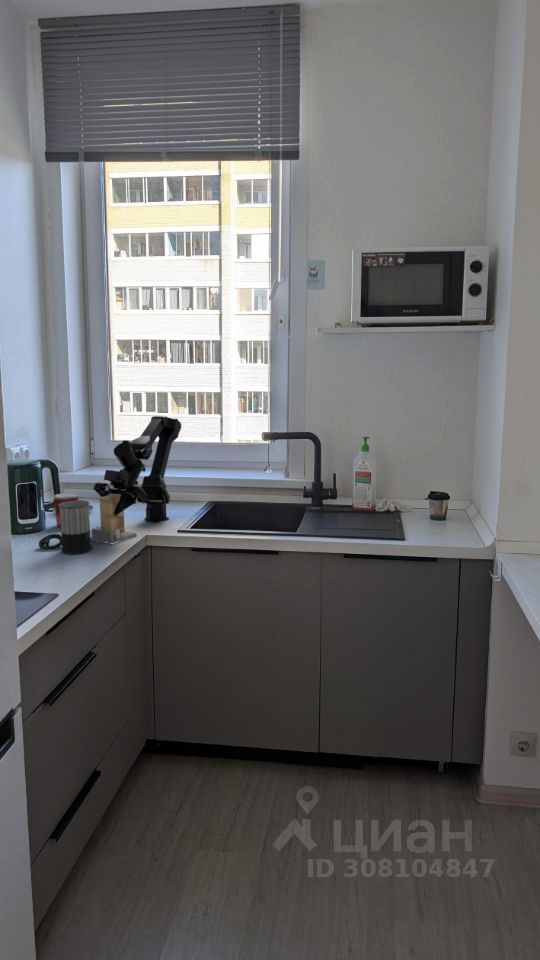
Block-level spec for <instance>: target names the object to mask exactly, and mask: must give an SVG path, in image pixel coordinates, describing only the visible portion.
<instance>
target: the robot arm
mask: <svg viewBox="0 0 540 960" xmlns="http://www.w3.org/2000/svg"><path fill="white" fill-rule="evenodd" d="M181 431H182V423H181V422H180V421H179V419H178V418H172V417H168V416H165V415H153V416H151V418H150V421H149V423H148V425H147V426H146V428H145V429H144V430H143V432H142V433H141V435H140V436H138V437H137V438H135V439H133V440H132V441H131V442H130V441H129V440H125V439H124V440H122V442H121V443H118V444H117V445H116V446H115V447H114V449H113V454H114V456H115V458H116V459H117V461H118V463H120V465H121V466H122V467H123V468H122V469H120V470H119V471H118V470H114V469H113V470H112V469H105V473H104V476H103V480H104V481H108V482H110V483H109V484H110V485H109V484H108V483H106V482H96V483H95V484H94V486H93V488H92V489H93V490H94V492H96V493H97V494H98V496H99V497H104V496H108V495H112V494H114V495H121V498H120V501H119V503H118V505H117V507H116V509H115V511H114V515H115V516H116V515H118V514H119V513H121V512H122V511H123V510H124V511H125V510H127V509H128V508H129V507H131V506H133V505H136V504H137V502H138V503H142V504H146V508H145V517H144V521H149V522H152V523H158V522H161V521H163V522H164V521H167V520H170V517H167V504H170V500H171V495H170V494H169V492H168V490H167V484H166V482H165V480H164V478H165V473H166V470H167V466H168V461H169V458H170V453H171V448H172V444H173V442H175V441H176V440H177V439H178V438H179V434H180V432H181ZM157 438H158V441H157V445H156V450H155V453H154V458H153V462H152V466H151V470H150V473H149V475H148V476H146V475H145V476H144V477H143V479H142V484H141V486H138V484H139V482H138V479H139V477H140V475H141V473H142V472H146V471H147V470H146V468H147V467H146V465H145V463H144V462H142V460H144V461H148V460H149V459H150V457H151V456H152V453H153V450H154V449H153V444H155V442H156V440H157ZM110 486H111V487H110ZM112 486H113V487H112Z"/></svg>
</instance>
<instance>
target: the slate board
mask: <svg viewBox="0 0 540 960" xmlns="http://www.w3.org/2000/svg"><path fill="white" fill-rule="evenodd" d="M134 536H135V537H137V533H136V532H132V531H125V532H123V533H120V532H119V529H115V530H114V536H113V531H109V530H102V529H101V525H100V526H95V527H94V528H91V542H93V541H99V542H98V543H100V542H108V543H115V542H118V541H121V540H124V539H127V538H130V539H132V538H131V537H133V538H135V537H134ZM127 540H128V539H127ZM124 541H125V540H124ZM121 542H122V541H121Z"/></svg>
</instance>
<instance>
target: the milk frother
mask: <svg viewBox="0 0 540 960" xmlns="http://www.w3.org/2000/svg"><path fill="white" fill-rule="evenodd" d="M89 505H90V502H89V501H87V500H82V499H78V500H75V501H67V502H62V503H60V504H59V505H58V506H59V507H60V521H61V528H60V531H61V533H60V534H58V533H52V534H49V535H46V536H44V537H42V538H41V539H40V540H39V542H38V547H39V548H40V549H43V550H48V551H49V550H56V549H58V548H60V547H61V553H62V554H68V555H79V554H85V553H89V552H90V551H92V550H93V546H92V541H91V538H92V536H91V525H90V512H89V511H90V510H89ZM52 539H53V540H54V539H56V540H58V541H59V542H58V543H56V544H53V545H50V541H51V540H52Z"/></svg>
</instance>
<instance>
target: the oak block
mask: <svg viewBox="0 0 540 960" xmlns="http://www.w3.org/2000/svg"><path fill="white" fill-rule="evenodd" d="M120 498H121V495H116V494H112V495H108V496H104V497H101V496H99V514H100V516H99V517H100V527H101V529H102V530H109V531H113V536H114V530H115V529H119V532H120V533H123V532H126V530H125V510H123V511H122V512H121V513H119V514H118V515H116V516H115V515H114V511H115V509H116V507H117V505H118V503H119V501H120Z"/></svg>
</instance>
